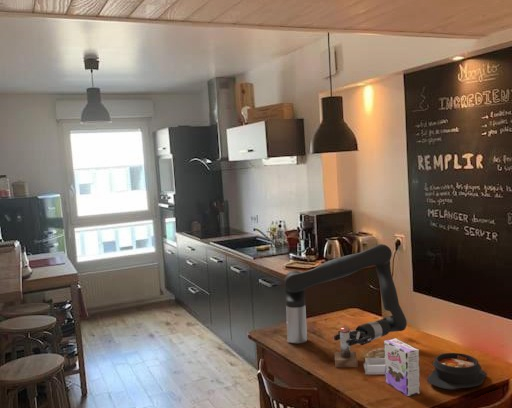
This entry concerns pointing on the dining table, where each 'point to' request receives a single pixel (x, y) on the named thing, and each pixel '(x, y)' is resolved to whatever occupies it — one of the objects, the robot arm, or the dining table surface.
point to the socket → (374, 365)
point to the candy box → (402, 366)
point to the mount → (346, 360)
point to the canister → (344, 341)
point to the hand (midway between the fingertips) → (341, 340)
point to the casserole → (456, 371)
